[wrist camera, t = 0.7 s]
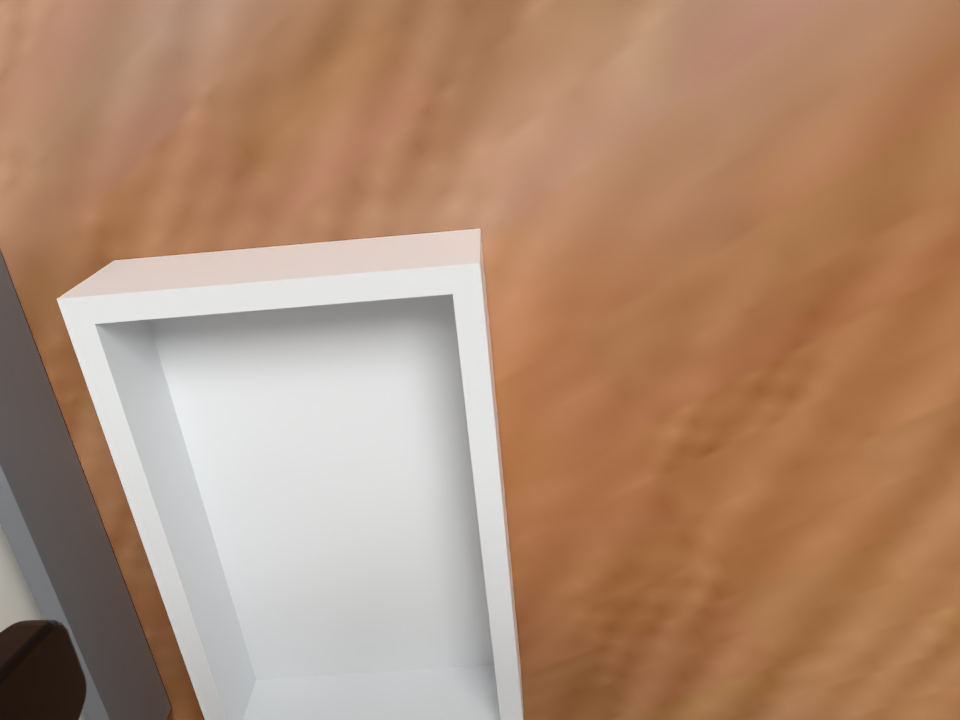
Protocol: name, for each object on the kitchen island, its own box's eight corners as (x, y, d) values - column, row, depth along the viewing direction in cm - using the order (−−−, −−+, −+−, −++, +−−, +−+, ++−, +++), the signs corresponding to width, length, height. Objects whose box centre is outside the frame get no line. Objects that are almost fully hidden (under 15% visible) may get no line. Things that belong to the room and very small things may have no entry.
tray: (520, 666, 27) (524, 740, 24) (245, 683, 27) (218, 758, 24) (480, 228, 20) (479, 262, 17) (114, 260, 20) (56, 298, 18)
